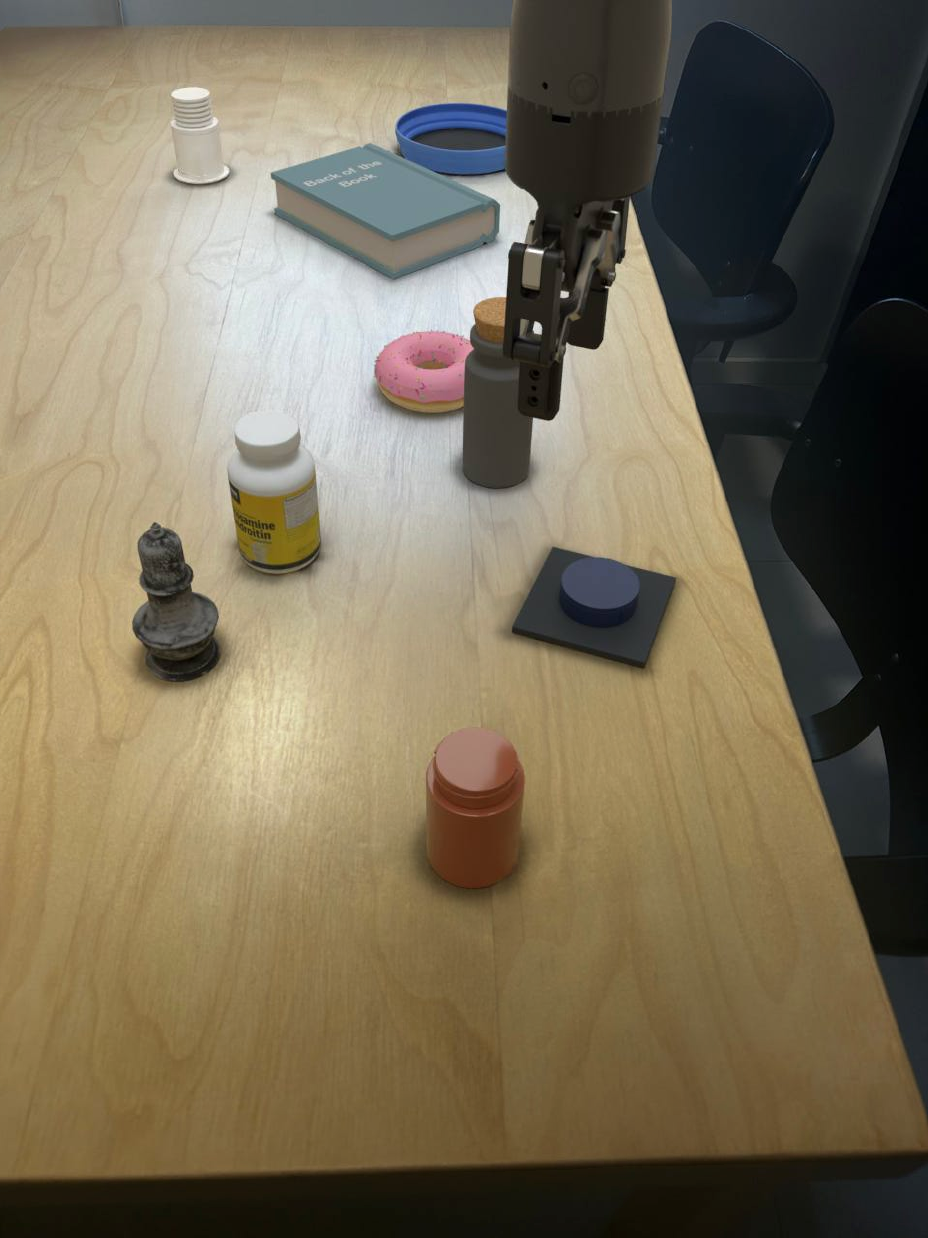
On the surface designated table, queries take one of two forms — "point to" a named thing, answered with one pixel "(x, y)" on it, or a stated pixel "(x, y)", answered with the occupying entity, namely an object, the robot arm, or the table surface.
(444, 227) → the book
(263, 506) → the pill bottle
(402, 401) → the doughnut
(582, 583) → the jar lid
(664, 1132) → the table surface
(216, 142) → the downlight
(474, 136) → the bowl
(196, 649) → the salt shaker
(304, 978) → the table surface
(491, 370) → the bottle
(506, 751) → the jar
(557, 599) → the coaster
